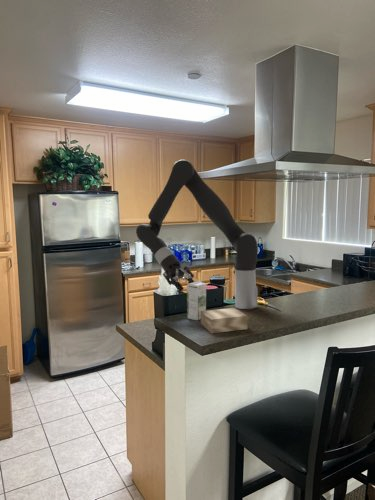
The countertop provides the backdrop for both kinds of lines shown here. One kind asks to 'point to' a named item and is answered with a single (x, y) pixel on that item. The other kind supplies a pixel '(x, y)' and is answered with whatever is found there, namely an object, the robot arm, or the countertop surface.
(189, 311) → the syrup box
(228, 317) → the riser block
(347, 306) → the countertop surface
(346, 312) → the countertop surface
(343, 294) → the countertop surface
